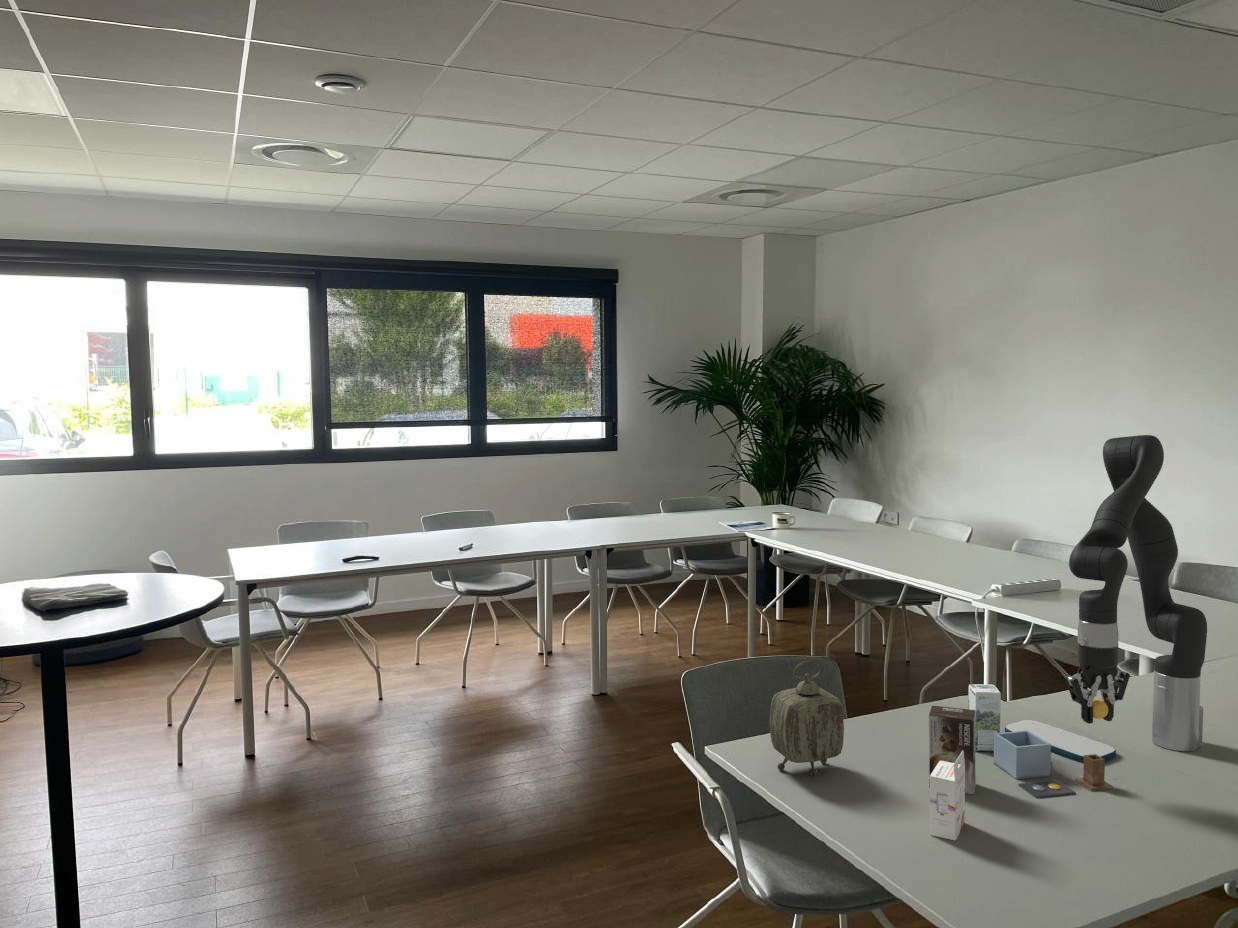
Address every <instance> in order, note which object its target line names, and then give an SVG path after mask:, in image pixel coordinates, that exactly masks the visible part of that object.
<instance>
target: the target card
mask: <svg viewBox="0 0 1238 928" xmlns="http://www.w3.org/2000/svg"><path fill="white" fill-rule="evenodd" d="M1018 787H1020V788H1021V789H1022V790H1024V791H1026V793H1028V794H1030V795H1031V796H1032V797H1034V798H1036V799H1041V798H1052V797H1059V796H1060V797H1061V796H1070V795H1076V793H1077V792H1076V791H1075V790H1073V789H1071V788H1070V787H1068V786H1067V785H1065V784H1064V783H1062V782H1061V781H1059V780H1057V779H1052V780H1043V781H1034V782H1032V781H1031V782H1024V783H1023V782H1022V783H1018Z"/></svg>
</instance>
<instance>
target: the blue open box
mask: <svg viewBox="0 0 1238 928" xmlns="http://www.w3.org/2000/svg"><path fill="white" fill-rule="evenodd" d="M1051 755H1052V752H1051V744H1049V743H1048V742H1046V741H1044V740H1043V739H1041V738H1039V737H1038V736H1036V735H1034V734H1032V733H1031V732H1029V731H1016V732H1005V731H1004V732H1000V733H995V734H994V752H993V765H995V766H997V768H999V769H1000V770H1002V771H1003V772H1005V773H1006V774H1008V775H1009V776H1011V777H1012V778H1013V779H1015V780H1021V779H1023V780H1024V779H1031V778H1039V777H1040V778H1041V777H1050V776H1051V770H1052V769H1051V766H1052V765H1051V764H1052V762H1051V761H1052V759H1051V758H1052V756H1051Z"/></svg>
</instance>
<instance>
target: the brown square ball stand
mask: <svg viewBox="0 0 1238 928" xmlns="http://www.w3.org/2000/svg"><path fill="white" fill-rule="evenodd" d="M1105 762H1106V761H1105V759H1103V758H1102V757H1100V756H1098V755H1096V754H1092V755H1084V763H1083V776H1082V777H1075V778H1074V781H1075V782H1076V783H1077V784H1080V785H1081V786H1082V787H1084V788H1085V789H1087V790H1088V791H1091V792H1093V791H1095V792H1096V791H1103V790H1104V791H1106V790H1113V789H1114V788H1113V785H1111V784H1110V783H1108V782H1107V781H1105V770H1106V769H1105V766H1106V763H1105Z"/></svg>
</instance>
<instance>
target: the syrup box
mask: <svg viewBox="0 0 1238 928" xmlns="http://www.w3.org/2000/svg"><path fill="white" fill-rule="evenodd" d="M1001 701H1002V693H1001V691H999V688H997V687H996V685H994V684H984V683H983V684H981V683H980V684H979V683H978V684H973V683H972V684H968V703H967V704H968V705H967V706H968V707H967V709H969V710H975V752H993V753H994V734H995V733H1001V708H1002V707H1001V706H1002V704H1001V703H1002V702H1001Z"/></svg>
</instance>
